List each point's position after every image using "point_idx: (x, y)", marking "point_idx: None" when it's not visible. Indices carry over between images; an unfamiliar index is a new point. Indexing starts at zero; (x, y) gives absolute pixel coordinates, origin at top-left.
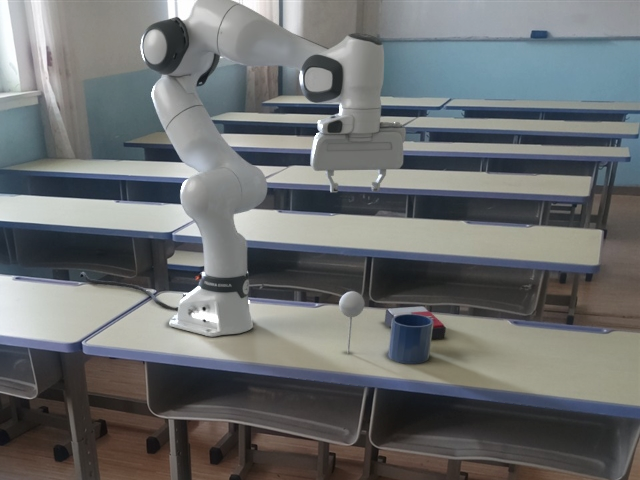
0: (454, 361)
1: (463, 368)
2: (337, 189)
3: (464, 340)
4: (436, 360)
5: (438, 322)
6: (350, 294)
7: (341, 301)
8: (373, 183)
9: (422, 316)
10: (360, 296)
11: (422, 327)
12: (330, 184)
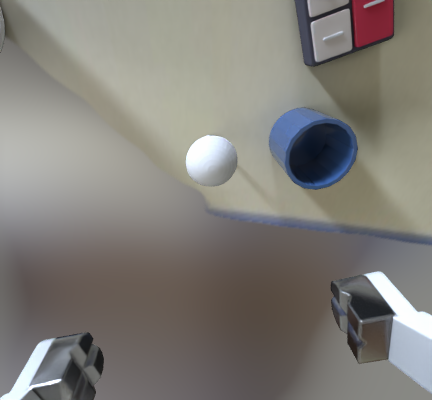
0: (360, 148)
1: (364, 172)
2: (97, 377)
3: (413, 42)
4: None
5: (387, 20)
6: (208, 179)
7: (190, 175)
8: (357, 356)
9: (344, 129)
10: (229, 173)
11: (329, 185)
12: (21, 385)
